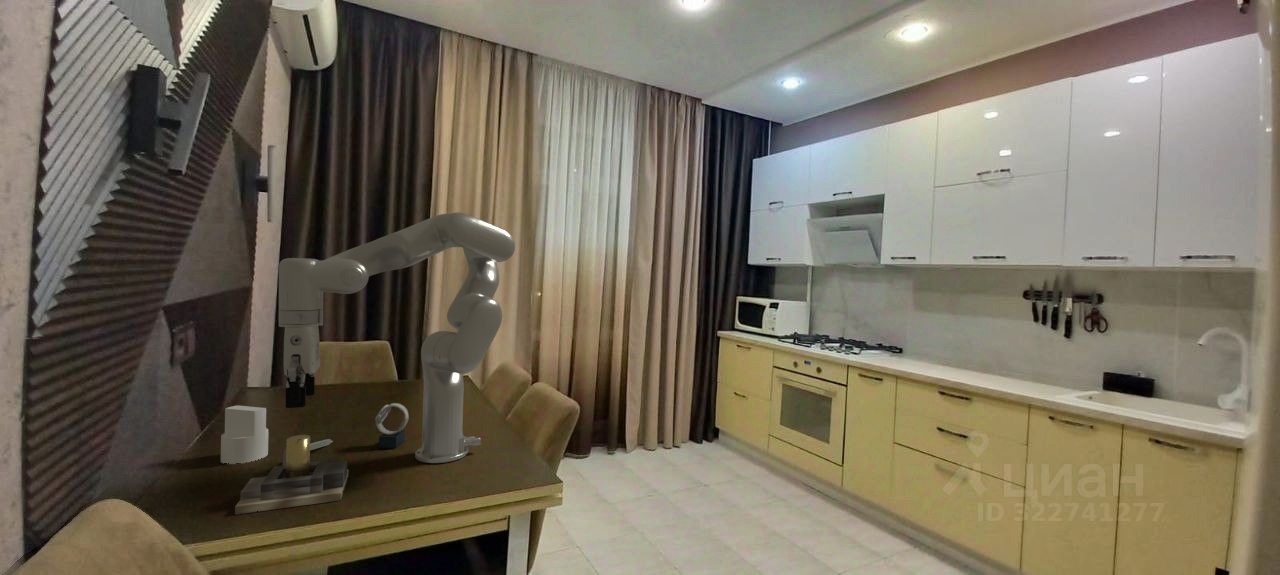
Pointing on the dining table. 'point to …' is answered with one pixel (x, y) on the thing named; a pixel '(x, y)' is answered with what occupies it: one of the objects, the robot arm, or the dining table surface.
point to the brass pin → (298, 456)
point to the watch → (391, 436)
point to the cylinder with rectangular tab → (244, 435)
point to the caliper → (311, 447)
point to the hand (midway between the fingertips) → (300, 401)
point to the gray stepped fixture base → (294, 488)
